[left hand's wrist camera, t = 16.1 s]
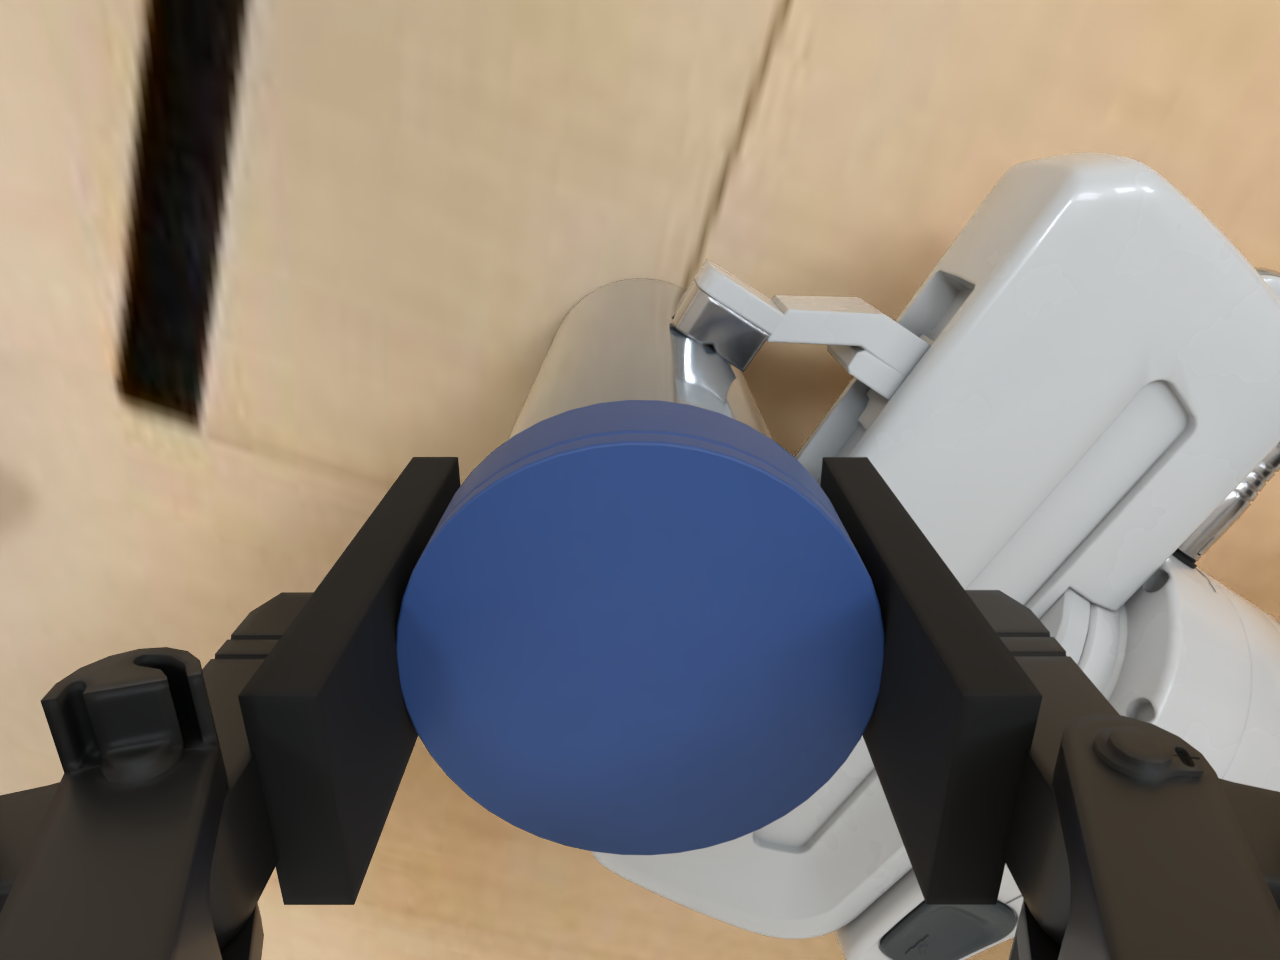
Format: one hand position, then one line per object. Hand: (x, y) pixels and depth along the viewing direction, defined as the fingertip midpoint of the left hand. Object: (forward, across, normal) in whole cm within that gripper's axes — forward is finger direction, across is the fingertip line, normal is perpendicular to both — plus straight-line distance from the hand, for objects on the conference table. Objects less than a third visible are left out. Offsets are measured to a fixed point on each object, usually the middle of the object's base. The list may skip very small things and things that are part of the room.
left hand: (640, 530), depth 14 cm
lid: (-4, 0, 0) cm, 4 cm away
